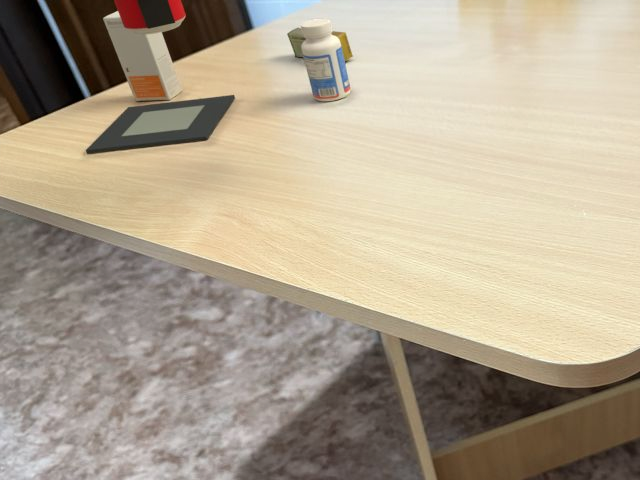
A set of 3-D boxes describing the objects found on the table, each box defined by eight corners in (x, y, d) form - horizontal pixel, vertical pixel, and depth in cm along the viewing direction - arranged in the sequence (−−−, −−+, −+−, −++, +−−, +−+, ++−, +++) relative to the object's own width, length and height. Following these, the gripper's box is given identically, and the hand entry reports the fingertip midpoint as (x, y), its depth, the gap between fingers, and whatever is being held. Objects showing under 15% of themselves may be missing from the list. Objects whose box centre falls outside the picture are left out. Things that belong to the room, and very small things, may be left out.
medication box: (294, 57, 116) (285, 33, 113) (305, 51, 117) (297, 26, 114) (342, 63, 109) (334, 37, 106) (354, 56, 111) (347, 30, 108)
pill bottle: (336, 86, 101) (321, 14, 95) (358, 92, 98) (344, 19, 92) (305, 98, 98) (287, 25, 92) (327, 105, 95) (310, 29, 89)
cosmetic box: (134, 102, 105) (100, 18, 98) (149, 92, 108) (117, 10, 101) (170, 100, 104) (138, 15, 96) (184, 90, 107) (154, 7, 100)
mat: (86, 153, 90) (85, 149, 89) (129, 110, 102) (127, 106, 102) (207, 140, 89) (205, 135, 89) (235, 98, 102) (234, 94, 101)
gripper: (113, -303, 51) (213, 27, 66) (81, -271, 65) (170, -2, 79) (4, -297, 49) (133, 45, 63) (-6, -265, 62) (103, 12, 77)
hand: (154, 19), depth 71 cm, fingers closed on beverage can, 6 cm apart
